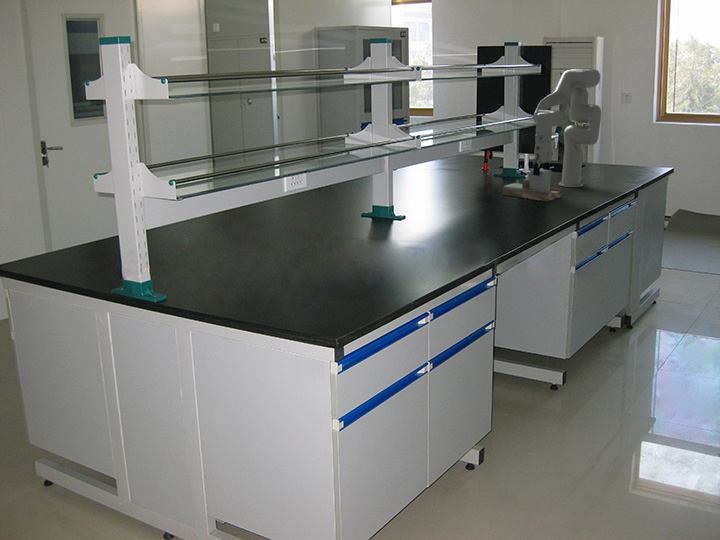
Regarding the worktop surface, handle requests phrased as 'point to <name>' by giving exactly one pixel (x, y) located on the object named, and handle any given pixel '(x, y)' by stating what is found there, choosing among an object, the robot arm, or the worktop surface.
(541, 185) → the small box
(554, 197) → the sliding lid wooden box
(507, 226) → the worktop surface
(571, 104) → the robot arm
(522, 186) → the lid
